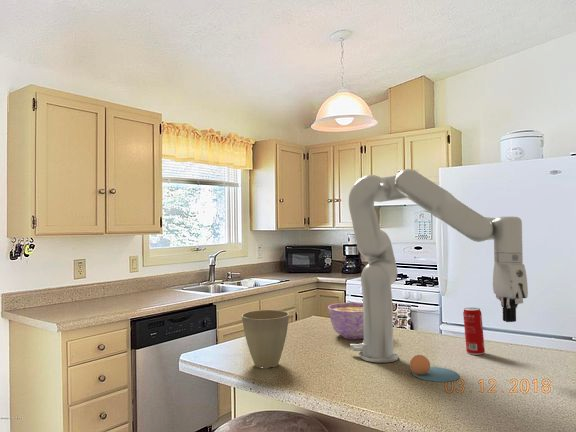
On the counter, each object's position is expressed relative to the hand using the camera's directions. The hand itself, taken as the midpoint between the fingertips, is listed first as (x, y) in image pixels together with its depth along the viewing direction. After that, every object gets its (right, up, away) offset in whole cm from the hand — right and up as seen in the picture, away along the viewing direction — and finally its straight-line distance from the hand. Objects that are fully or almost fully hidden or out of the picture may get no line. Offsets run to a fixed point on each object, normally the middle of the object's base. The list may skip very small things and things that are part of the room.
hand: (509, 321), depth 133 cm
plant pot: (-72, -16, +10) cm, 74 cm away
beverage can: (-2, -16, +21) cm, 26 cm away
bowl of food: (-39, -17, +45) cm, 62 cm away
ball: (-26, -13, -1) cm, 29 cm away
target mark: (-22, -15, -1) cm, 27 cm away
